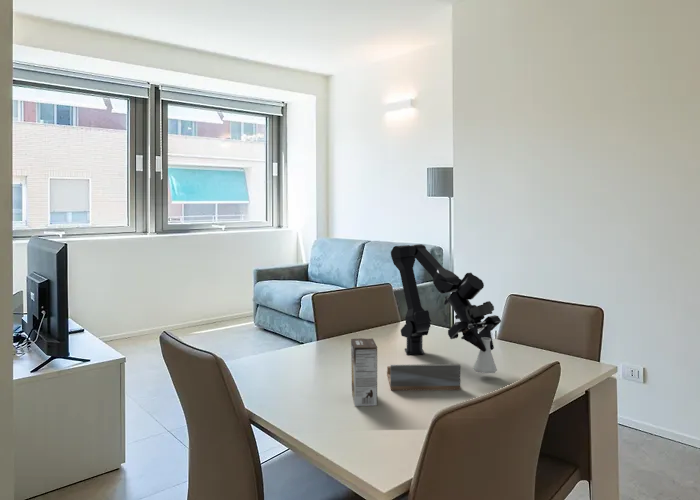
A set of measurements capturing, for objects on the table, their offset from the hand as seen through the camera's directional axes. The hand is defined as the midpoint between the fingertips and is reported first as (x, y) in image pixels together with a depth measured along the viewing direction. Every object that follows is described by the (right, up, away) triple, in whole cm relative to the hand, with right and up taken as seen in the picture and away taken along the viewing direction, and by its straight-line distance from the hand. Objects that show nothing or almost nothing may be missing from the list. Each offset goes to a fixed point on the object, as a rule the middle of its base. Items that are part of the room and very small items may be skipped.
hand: (488, 350), depth 159 cm
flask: (-1, -7, +2) cm, 7 cm away
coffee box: (-38, -11, -15) cm, 43 cm away
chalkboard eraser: (-21, -9, -2) cm, 23 cm away
